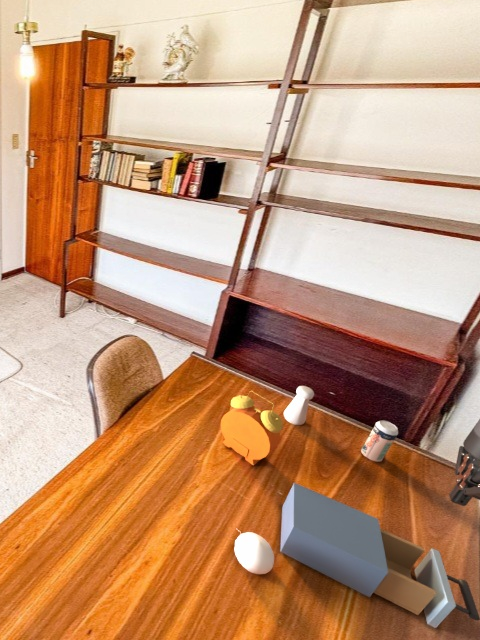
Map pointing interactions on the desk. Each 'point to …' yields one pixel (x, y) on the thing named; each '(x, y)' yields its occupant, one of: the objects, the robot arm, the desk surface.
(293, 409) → the salt shaker
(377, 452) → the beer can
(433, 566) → the drawer
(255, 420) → the alarm clock
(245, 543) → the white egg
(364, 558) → the cabinet
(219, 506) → the desk surface
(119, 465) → the desk surface
